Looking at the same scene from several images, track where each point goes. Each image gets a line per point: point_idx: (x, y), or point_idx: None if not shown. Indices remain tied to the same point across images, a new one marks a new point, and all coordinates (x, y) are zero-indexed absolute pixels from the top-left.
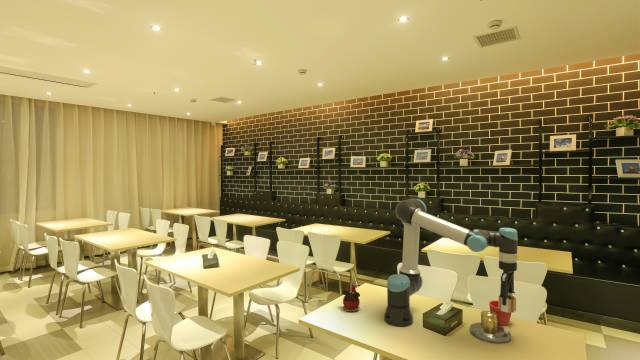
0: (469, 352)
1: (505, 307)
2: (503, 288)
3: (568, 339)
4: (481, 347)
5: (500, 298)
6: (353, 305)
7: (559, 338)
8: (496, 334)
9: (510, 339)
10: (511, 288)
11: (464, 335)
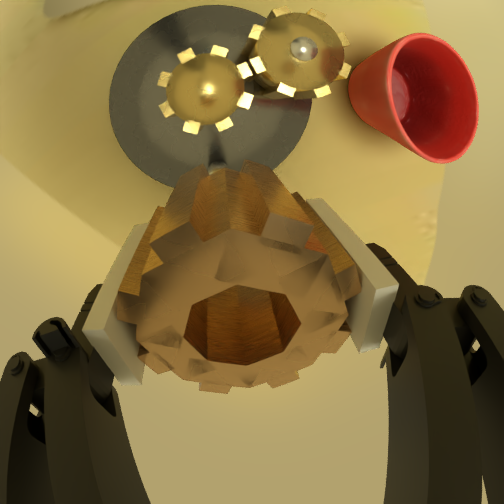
0: (10, 148)
1: None
2: (13, 489)
3: None
4: (61, 146)
5: (147, 262)
6: None
7: None
8: (194, 134)
9: None
10: (392, 416)
11: (101, 40)
